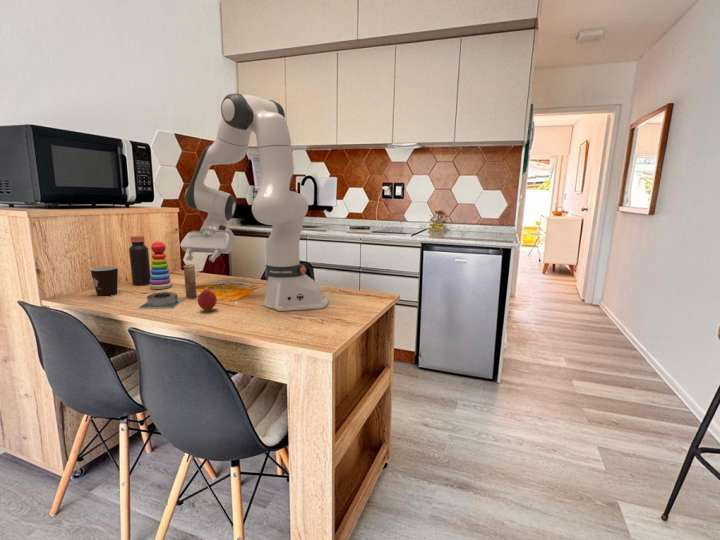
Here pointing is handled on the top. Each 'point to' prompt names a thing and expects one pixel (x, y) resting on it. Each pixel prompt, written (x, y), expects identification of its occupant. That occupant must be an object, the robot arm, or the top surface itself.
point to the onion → (207, 299)
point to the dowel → (190, 281)
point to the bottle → (139, 261)
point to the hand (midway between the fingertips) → (199, 260)
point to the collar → (162, 300)
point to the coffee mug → (105, 280)
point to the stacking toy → (159, 267)
